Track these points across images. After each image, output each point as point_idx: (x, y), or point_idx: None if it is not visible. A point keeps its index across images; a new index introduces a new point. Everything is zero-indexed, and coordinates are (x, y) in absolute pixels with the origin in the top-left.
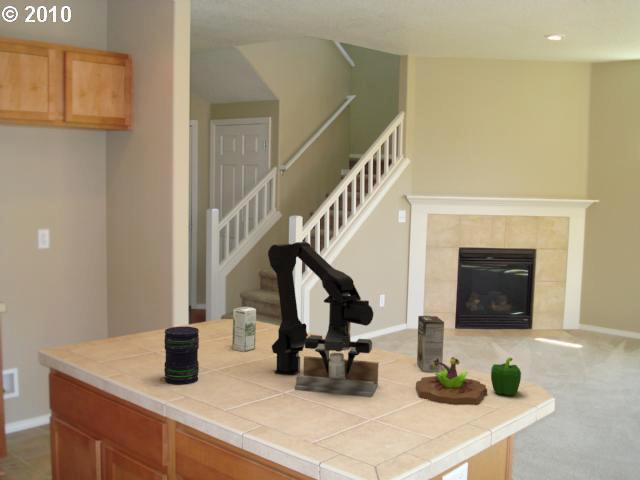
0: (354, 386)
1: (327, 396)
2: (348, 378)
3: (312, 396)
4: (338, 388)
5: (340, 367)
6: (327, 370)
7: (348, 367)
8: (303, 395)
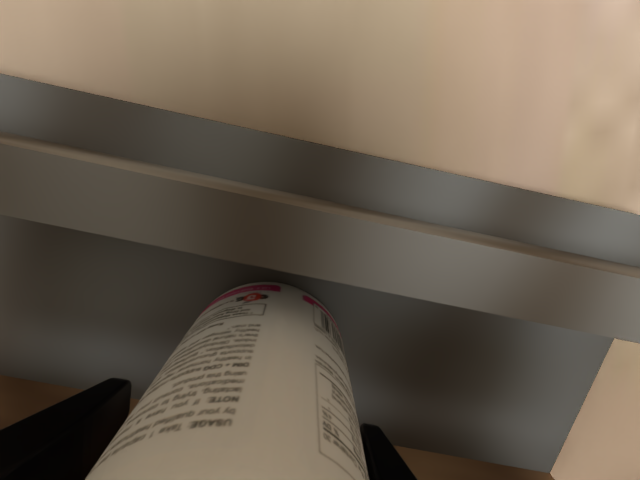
0: (60, 148)
1: (355, 52)
2: None
3: (497, 37)
4: (250, 184)
5: (152, 423)
6: (378, 444)
7: (8, 444)
8: (579, 62)
